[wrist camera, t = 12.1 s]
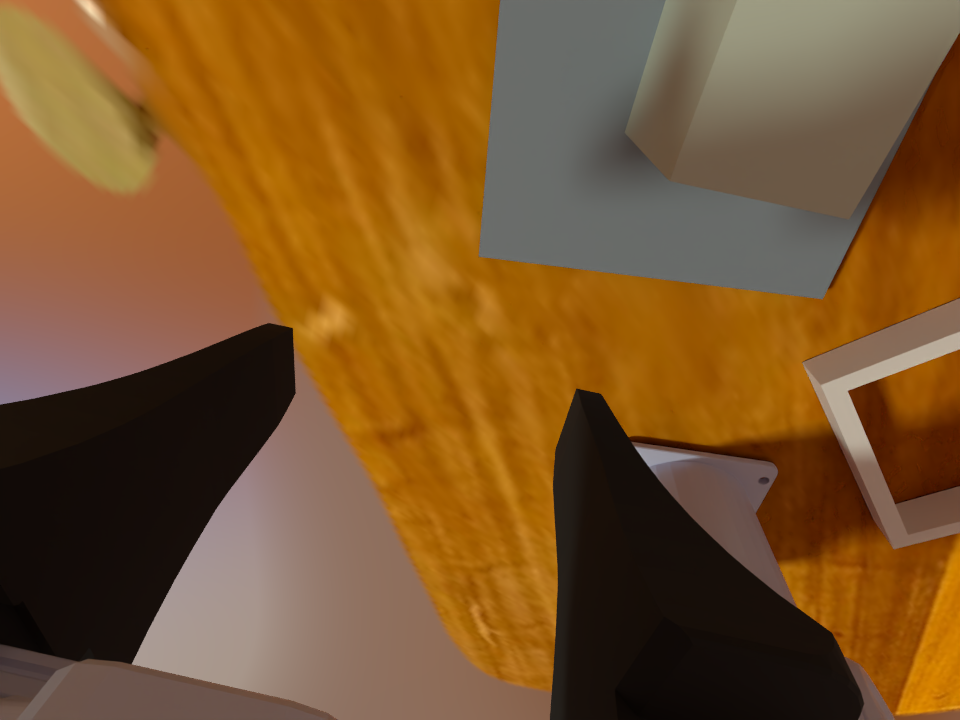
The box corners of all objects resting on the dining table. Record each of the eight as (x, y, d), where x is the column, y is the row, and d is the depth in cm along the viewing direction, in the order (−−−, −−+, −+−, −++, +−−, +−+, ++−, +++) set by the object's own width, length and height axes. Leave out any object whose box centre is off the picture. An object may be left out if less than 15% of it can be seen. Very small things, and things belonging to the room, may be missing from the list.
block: (792, 21, 15) (981, -5, 9) (734, 156, 17) (848, 219, 11) (667, -5, 15) (756, -52, 9) (624, 132, 18) (669, 180, 11)
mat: (815, 292, 20) (822, 298, 20) (480, 251, 21) (478, 256, 21) (1057, -200, 13) (1077, -210, 12) (521, -232, 14) (520, -242, 13)
